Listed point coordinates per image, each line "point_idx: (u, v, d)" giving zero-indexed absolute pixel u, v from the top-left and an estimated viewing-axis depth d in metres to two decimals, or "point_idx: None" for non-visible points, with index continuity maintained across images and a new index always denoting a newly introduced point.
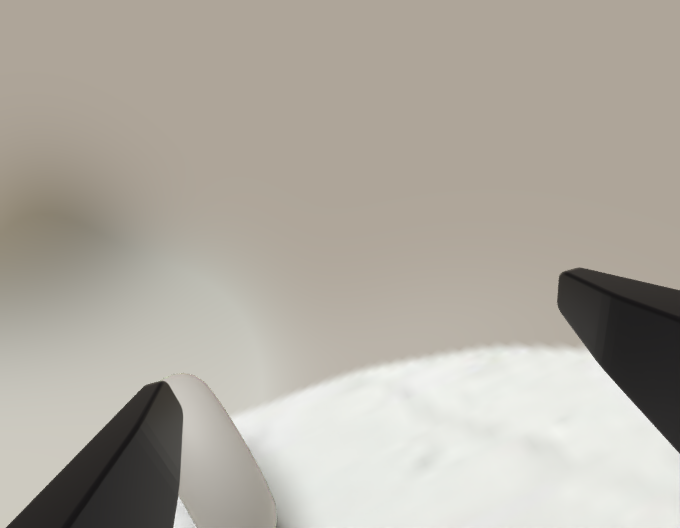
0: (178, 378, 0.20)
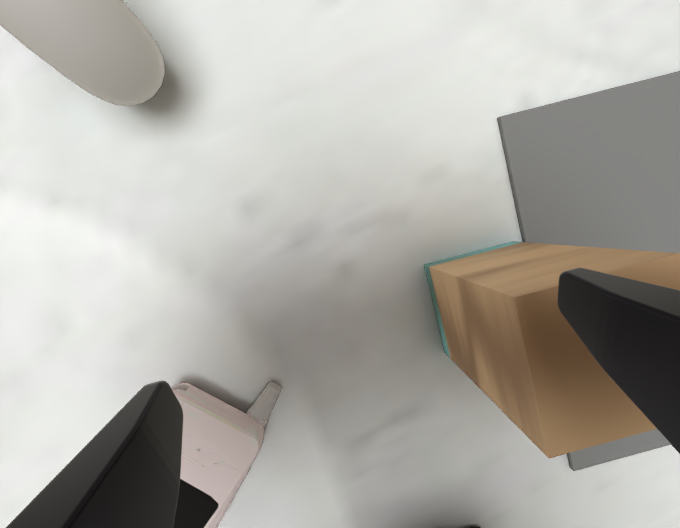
0: None
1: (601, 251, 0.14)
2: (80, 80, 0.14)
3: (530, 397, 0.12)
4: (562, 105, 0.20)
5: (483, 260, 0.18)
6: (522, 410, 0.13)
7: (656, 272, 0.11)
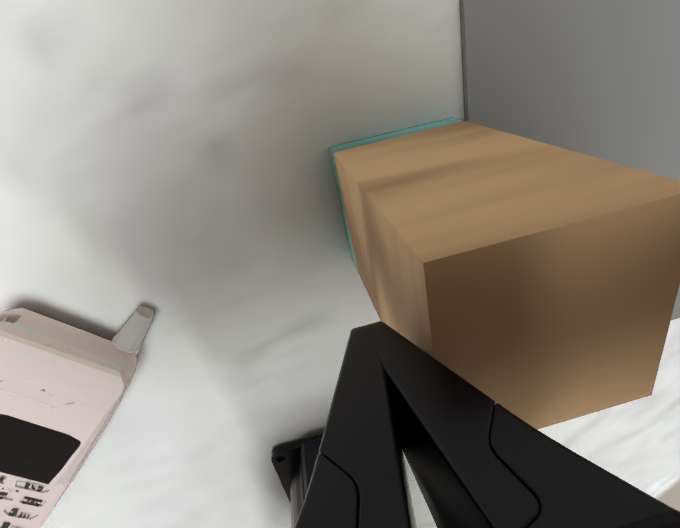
0: None
1: (571, 159, 0.09)
2: None
3: None
4: None
5: (404, 151, 0.12)
6: None
7: (656, 219, 0.07)
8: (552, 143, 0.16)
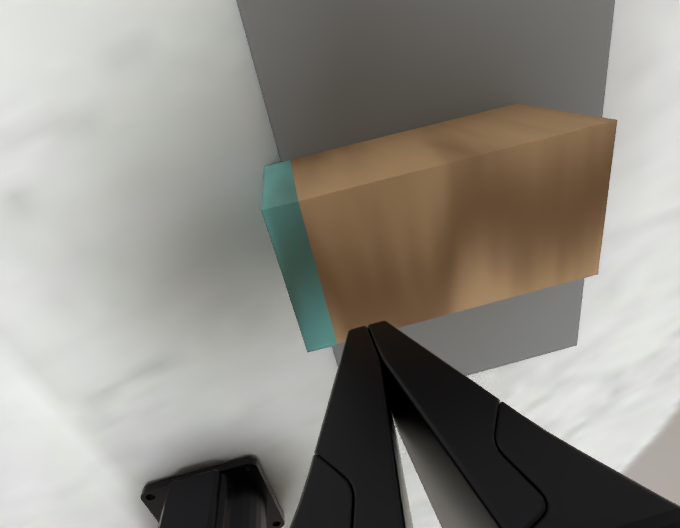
0: None
1: (453, 121, 0.15)
2: None
3: (591, 230, 0.12)
4: None
5: (363, 163, 0.12)
6: (566, 258, 0.13)
7: None
8: None
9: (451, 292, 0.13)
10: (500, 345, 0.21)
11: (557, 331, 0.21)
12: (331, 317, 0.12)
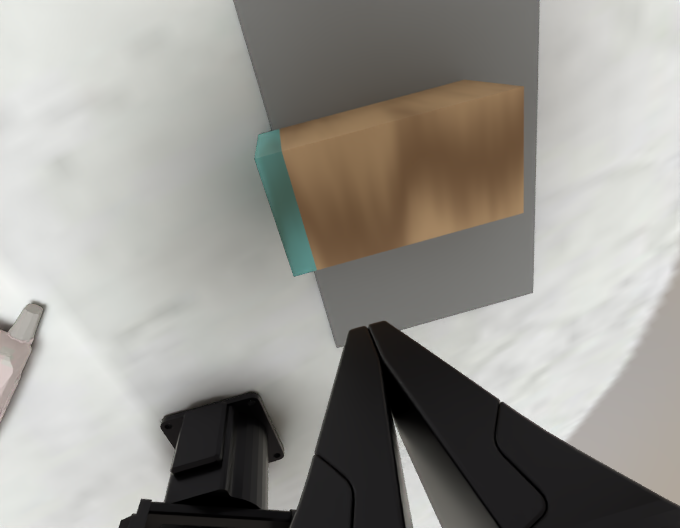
0: None
1: (411, 95, 0.18)
2: None
3: (514, 176, 0.16)
4: None
5: (334, 126, 0.16)
6: (495, 199, 0.16)
7: None
8: None
9: (405, 227, 0.16)
10: (465, 292, 0.24)
11: (514, 279, 0.24)
12: (311, 247, 0.16)
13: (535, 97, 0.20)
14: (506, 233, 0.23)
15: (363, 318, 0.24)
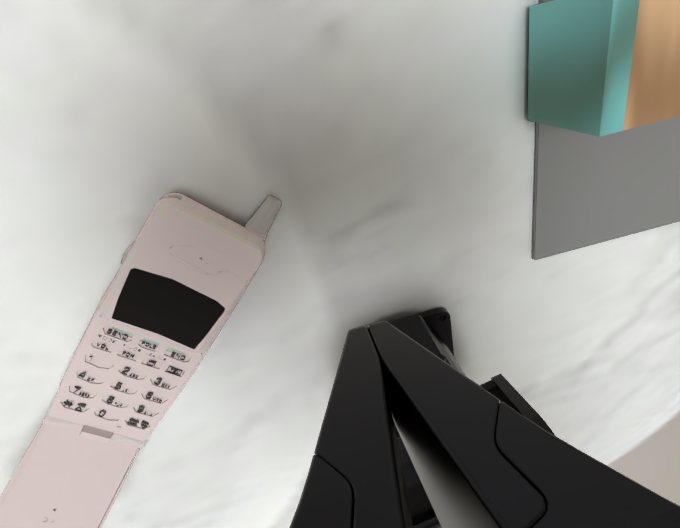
0: None
1: None
2: None
3: None
4: None
5: None
6: None
7: None
8: None
9: None
10: (670, 202, 0.24)
11: None
12: (627, 101, 0.15)
13: None
14: None
15: (568, 226, 0.23)
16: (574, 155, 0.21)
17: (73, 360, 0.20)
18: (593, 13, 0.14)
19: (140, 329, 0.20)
